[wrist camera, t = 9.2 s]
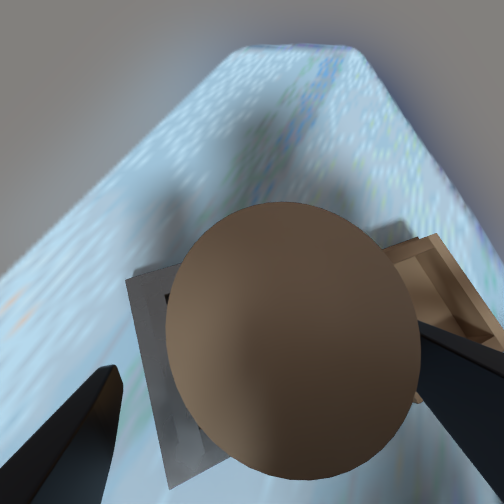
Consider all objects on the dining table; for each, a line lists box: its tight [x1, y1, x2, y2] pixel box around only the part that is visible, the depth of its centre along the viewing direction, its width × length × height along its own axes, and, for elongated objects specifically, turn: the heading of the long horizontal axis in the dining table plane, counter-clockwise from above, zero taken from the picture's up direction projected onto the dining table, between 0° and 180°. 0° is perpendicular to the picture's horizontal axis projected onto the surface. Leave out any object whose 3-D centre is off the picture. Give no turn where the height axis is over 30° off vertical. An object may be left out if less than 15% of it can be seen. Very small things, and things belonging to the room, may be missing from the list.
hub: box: [125, 263, 231, 490], centre depth 15 cm, size 12×12×4 cm
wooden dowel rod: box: [165, 202, 421, 480], centre depth 10 cm, size 5×5×12 cm
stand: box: [382, 233, 504, 404], centre depth 18 cm, size 10×10×3 cm
